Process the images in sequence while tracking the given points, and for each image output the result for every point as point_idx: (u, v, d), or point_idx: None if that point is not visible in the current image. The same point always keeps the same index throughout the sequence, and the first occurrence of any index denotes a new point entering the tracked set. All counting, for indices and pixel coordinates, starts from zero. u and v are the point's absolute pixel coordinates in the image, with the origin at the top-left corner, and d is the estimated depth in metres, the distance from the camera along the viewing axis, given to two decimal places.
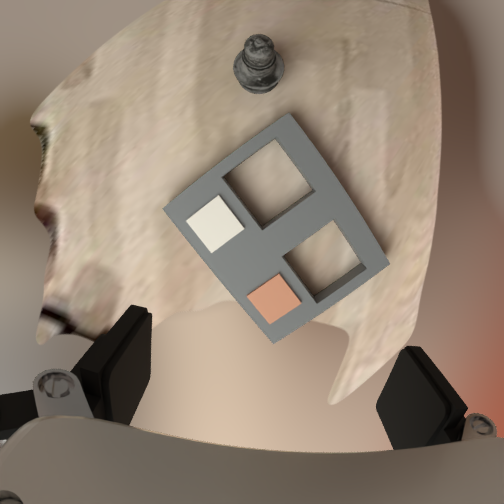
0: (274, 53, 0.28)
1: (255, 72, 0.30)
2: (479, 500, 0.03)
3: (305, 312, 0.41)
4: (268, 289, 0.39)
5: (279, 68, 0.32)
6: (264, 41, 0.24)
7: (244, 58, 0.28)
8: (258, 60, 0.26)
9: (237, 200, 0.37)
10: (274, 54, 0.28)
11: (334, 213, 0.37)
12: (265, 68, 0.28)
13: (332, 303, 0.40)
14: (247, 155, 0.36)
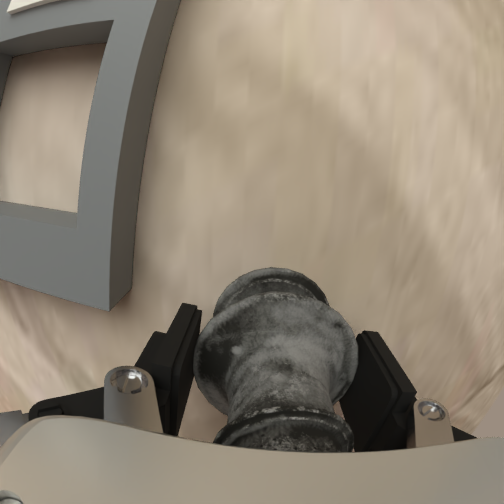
0: None
1: (257, 375, 0.08)
2: (479, 500, 0.03)
3: None
4: None
5: (222, 403, 0.11)
6: None
7: (324, 425, 0.06)
8: None
9: (48, 26, 0.08)
10: None
11: None
12: (220, 440, 0.06)
13: None
14: (92, 118, 0.09)
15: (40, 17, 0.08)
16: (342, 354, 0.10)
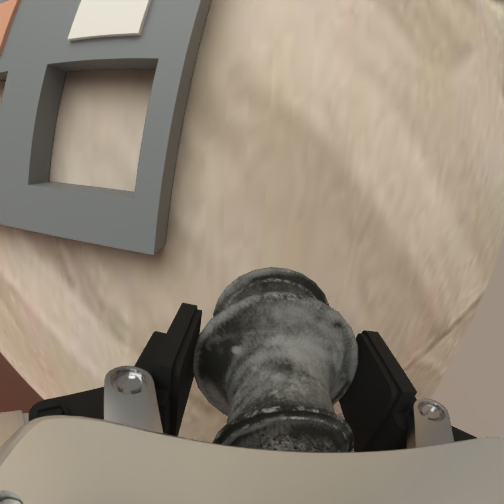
0: None
1: (257, 375, 0.08)
2: (479, 500, 0.03)
3: None
4: None
5: (222, 403, 0.11)
6: None
7: (324, 424, 0.06)
8: None
9: (106, 56, 0.14)
10: None
11: None
12: (220, 440, 0.06)
13: None
14: (147, 126, 0.15)
15: (98, 48, 0.14)
16: (342, 354, 0.10)
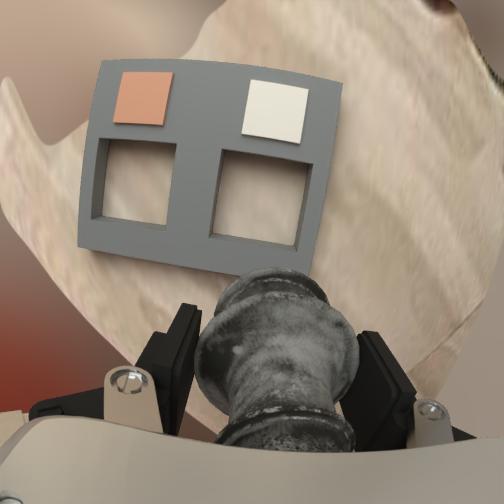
0: None
1: (258, 375, 0.08)
2: (479, 500, 0.03)
3: (101, 118, 0.25)
4: (157, 100, 0.25)
5: (223, 403, 0.11)
6: None
7: (326, 424, 0.06)
8: None
9: (275, 154, 0.26)
10: None
11: (170, 235, 0.28)
12: (222, 440, 0.06)
13: (85, 154, 0.26)
14: (307, 208, 0.27)
15: (268, 146, 0.26)
16: (343, 353, 0.10)
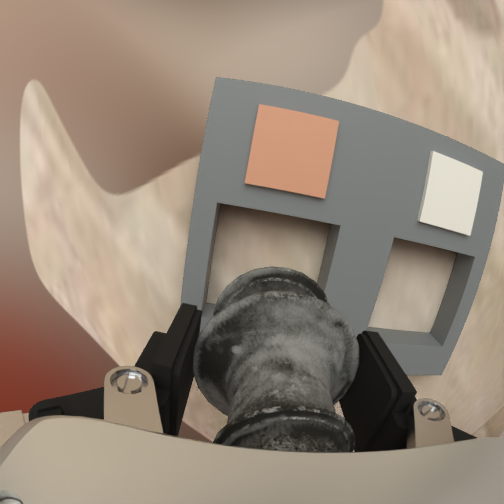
0: None
1: (257, 375, 0.08)
2: (479, 500, 0.03)
3: (221, 173, 0.19)
4: (317, 160, 0.18)
5: (222, 403, 0.11)
6: None
7: (325, 424, 0.06)
8: None
9: (445, 247, 0.20)
10: None
11: None
12: (220, 440, 0.06)
13: (193, 225, 0.20)
14: (461, 303, 0.21)
15: (440, 237, 0.20)
16: (343, 353, 0.10)
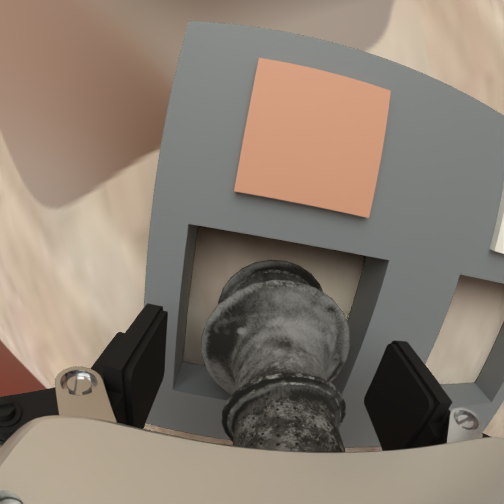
0: None
1: (260, 351, 0.10)
2: (479, 500, 0.03)
3: (194, 174, 0.11)
4: (358, 153, 0.10)
5: (228, 382, 0.12)
6: None
7: (319, 390, 0.08)
8: None
9: None
10: None
11: None
12: (229, 406, 0.08)
13: (152, 261, 0.12)
14: None
15: None
16: (335, 336, 0.11)
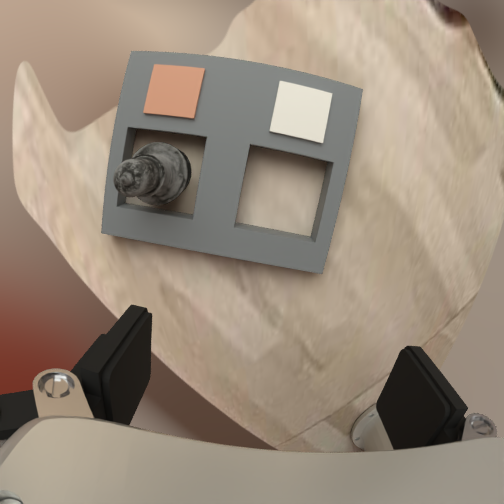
0: None
1: None
2: (479, 500, 0.03)
3: (130, 108, 0.27)
4: (189, 94, 0.26)
5: None
6: (124, 185, 0.20)
7: (152, 159, 0.23)
8: None
9: (299, 152, 0.28)
10: None
11: (197, 224, 0.30)
12: None
13: (113, 142, 0.27)
14: (326, 203, 0.29)
15: (293, 144, 0.28)
16: (178, 164, 0.27)
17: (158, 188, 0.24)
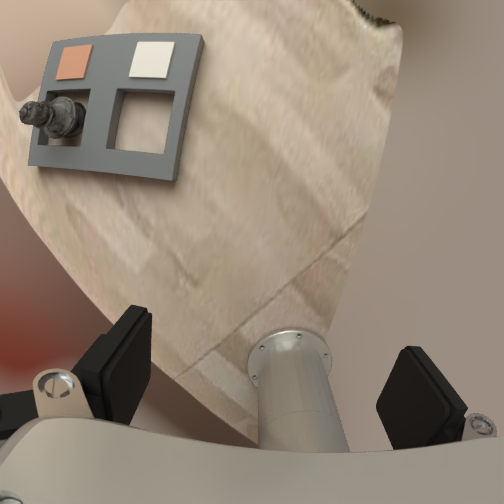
0: (35, 126, 0.29)
1: None
2: (479, 500, 0.03)
3: (49, 78, 0.32)
4: (81, 62, 0.31)
5: (46, 130, 0.33)
6: (22, 115, 0.26)
7: (46, 103, 0.29)
8: None
9: (150, 87, 0.33)
10: (35, 125, 0.29)
11: (83, 149, 0.35)
12: None
13: None
14: (170, 122, 0.34)
15: (145, 83, 0.33)
16: (70, 108, 0.32)
17: (49, 120, 0.29)
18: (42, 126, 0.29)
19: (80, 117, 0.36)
